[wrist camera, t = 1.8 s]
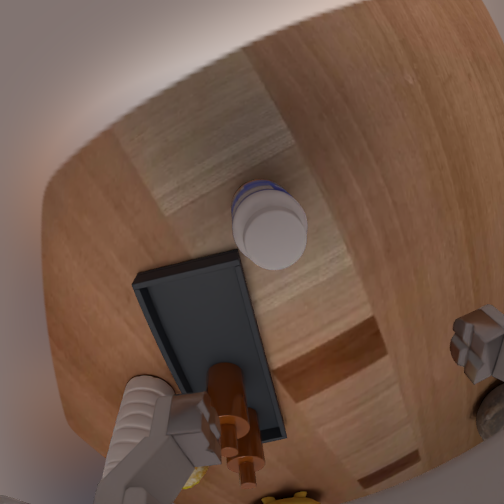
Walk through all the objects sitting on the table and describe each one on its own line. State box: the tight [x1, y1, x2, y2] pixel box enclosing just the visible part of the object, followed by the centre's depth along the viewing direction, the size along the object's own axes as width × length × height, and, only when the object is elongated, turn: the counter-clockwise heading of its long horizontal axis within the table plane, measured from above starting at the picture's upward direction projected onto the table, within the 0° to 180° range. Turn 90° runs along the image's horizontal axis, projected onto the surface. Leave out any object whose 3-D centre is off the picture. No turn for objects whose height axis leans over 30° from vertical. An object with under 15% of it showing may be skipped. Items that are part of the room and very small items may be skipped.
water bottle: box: [102, 375, 175, 479], centre depth 25 cm, size 9×6×25 cm
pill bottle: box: [231, 179, 308, 270], centre depth 24 cm, size 5×5×10 cm
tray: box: [132, 249, 287, 443], centre depth 34 cm, size 27×10×3 cm, turn 13°
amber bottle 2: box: [227, 407, 265, 489], centre depth 33 cm, size 4×4×11 cm
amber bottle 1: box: [206, 362, 250, 457], centre depth 30 cm, size 4×4×11 cm
